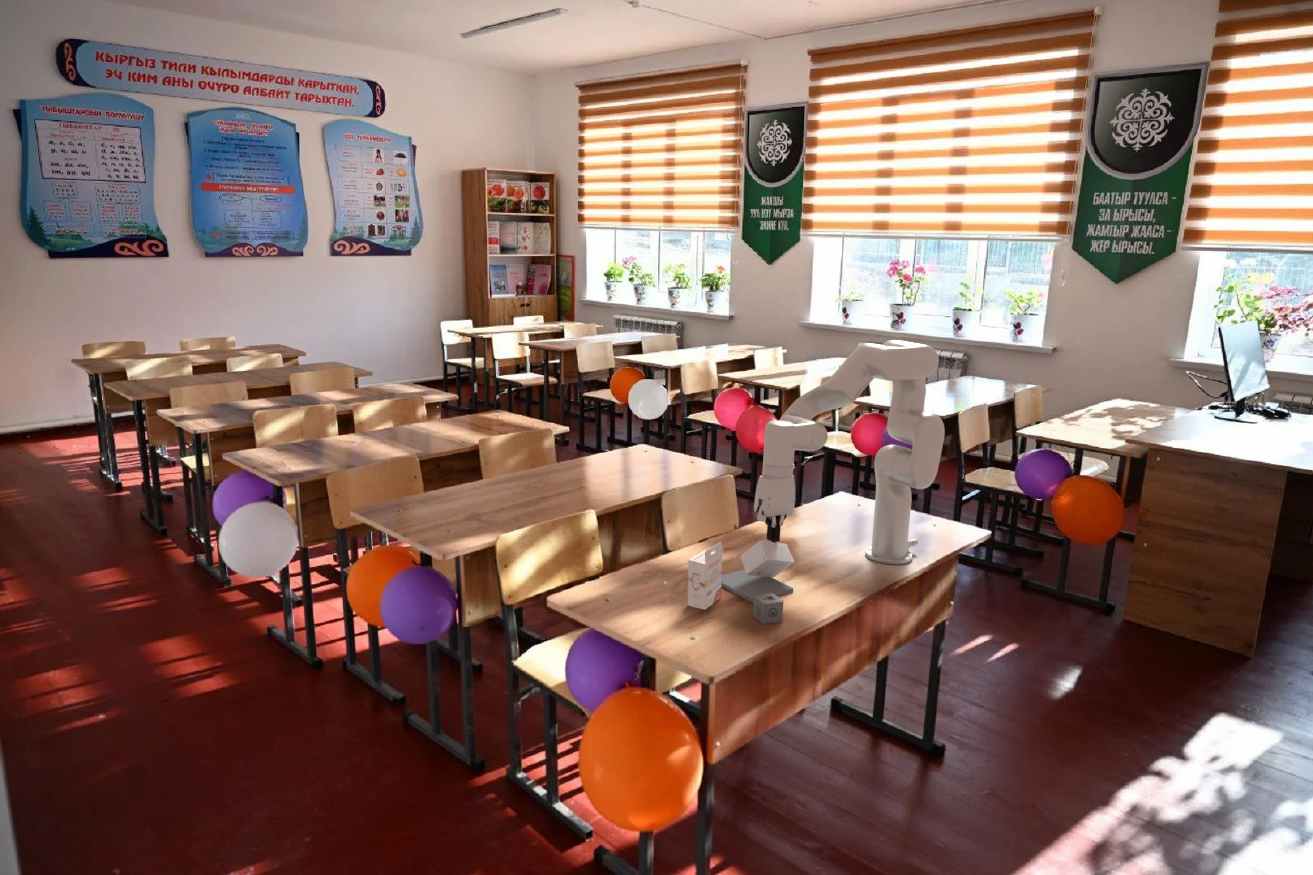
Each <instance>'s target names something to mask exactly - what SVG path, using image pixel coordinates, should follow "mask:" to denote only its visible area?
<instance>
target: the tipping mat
mask: <svg viewBox="0 0 1313 875" xmlns="http://www.w3.org/2000/svg"><path fill="white" fill-rule="evenodd" d="M722 587H723V589H724V588H725V589H726V590H727V591H730V592H731V593H733V594H735V595H737V596H739V597H741V598H743V599H744V600H746V601H748V602H750V603H751V604H754V596H755V595H762V594H769V593H774V594H775V595H776V596H777V597H781V596H783V595H784V596H785V595H788V594H791V593H794V588H793V587H792V586H790V585H788V584H786V583H783V582H782V581H780V580H777V579H776V578H775V577H763V576H752V575H747V574H746V571H745V569H744V568H743V569H741V570H737V571H734V572H733V571H732V572H730V573H726V574H722V583H721V588H722Z"/></svg>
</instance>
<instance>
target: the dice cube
mask: <svg viewBox="0 0 1313 875" xmlns="http://www.w3.org/2000/svg"><path fill="white" fill-rule="evenodd" d="M752 604H753V607H752V609H753V610H752V612H753V613H752V616H753V617H754V618H755V619H756V620H757V621H759V622H760V623H761V625H767V624H775V623H780V622H783V615H784V614H783V613H784V601H783V599H781V598H780V596H778V597H777V596H776V595H775V594H774V593H769V594H762V595H755V596H754V603H752Z"/></svg>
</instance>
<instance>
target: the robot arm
mask: <svg viewBox="0 0 1313 875" xmlns="http://www.w3.org/2000/svg"><path fill="white" fill-rule="evenodd" d="M939 362H940V360H939V354H938V352H937V351H936V349H934V348H933V347H932V345H931V346H930V345H928V344H922V343H916V342H911V341H906V340H897V339H891V340H887V341H884V343H882V344H877V343H873V342H872V343H871V342H870V343H868V342H866V343H861V344H859V345H858V346H857V347H855V349H854V350H853V351H852V352H851V353H850V354H849V356H847V358H846V359H845V360H844V361H843V363H842V364H841V365H840V366H839V367H838V368H837V370H836V371H835V372H834V373H833V374H832V375H831V376H830V378H829V379H828V380H827V381H825V382H824V383H822V384H820V385H818V386H816V387H814V388H813V389H811V390H809V391H807V392H806V393H803V394H802V395H801V396H799V397H798V398H797V399H795V401H793V402H792V403H791V405H790V406H789V407H788V408H787V409H786V411H784V413H783V414H782V415H781V417H780V419H779V420H778V419H777V420H770V421H768V422H767V423H766V424H765V428H764V440H763V441H764V443H763V444H764V445H763V460H762V473H761V474H762V475H759V477H758V479H757V480H758V481H757V484H756V490H755V496H754V504H753V511H754V513H756V514H757V516H756V520H757V521H759V522H761V523H763V522H764V524H765V525H766V529H767V530H766V540H767V541H768V542H775V543H780V541H781V528H782V526H783V525H784V523H785V522H784V521H785V520H786V518H789V517H791V516H792V515H793V511H794V510H795V505H796V484H795V482H796V480H795V475H794V470H795V468H796V465H795V464H794V463H795V462H794V461H795V451H804V452H815V451H818V450H820V449H822V448H823V447H824V446H825V445H826V443H827V442H828V437H829V436H828V434H829V433H828V430H827V429H826V427H825V425H823V424H822V423H820V422H818V421H816V420H815V421H814V420H812V419H813V418H815V417H817V415H819V414H821V413H824V412H827V411H829V410H834V409H839V408H840V409H841V408H844V407H847V406H850V405H852V404H853V403H855V402H856V400H857V399H858V398H859V396H861V394H862V393H863V391H864V390H866V388H867V387H868V386H869V385H870V384H871V382H872V381H873V380H874V379H879V380H883V381H891V382H892V395H891V400H890V407H889V411H888V412H889V413H888V418H887V423H886V431H887V434H888V435H889V436H890V438H892V439H894V440H896V441H899V442H902V443H904V444H907V445H911V446H912V448H908V447H905V446H902V445H899V444H898V445H897V444H888V445H884V446H882V447H881V448H879V450H878V451H877V452H876V454H875V457H874V463H873V464H874V474H875V475H874V476H875V486H876V487H875V500H874V509H873V510H874V514H873V522H872V523H873V524H872V535H871V537H872V538H871V546H868V547H867V548H866V549H865V556H866V558H868V559H869V560H871V561H874V562H877V563H880V564H886V565H905V564H908V563H910V562H911V561H912V560H913V554H912V552H911V551H910V548H911V547H912V548H913V547H916V546H918V544H919V542H918V540H917V539H916V538H912V539H909V531H910V530H909V529H910V523H911V522H910V520H911V509H912V501H913V500H912V490H911V488H912V489H913V488H914V489H916V490H924V489H927V488H929V487H931V485H932V484H933V483H934V481H935V479H936V477H937V474H938V470H939V466H940V462H941V456H942V452H943V451H942V450H943V445H944V440H945V425H944V422H943V419H941V417H940V416H939V415H937V414H935V413H934V412H931V411H926V410H925V402H926V401H925V400H926V394H927V387H926V386H927V385H926V382H925V381H926V380H925V379H926V378H929V377H930V376H931V375H933V374H934V373H935V371H936V370H937V369H938V366H939Z"/></svg>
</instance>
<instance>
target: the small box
mask: <svg viewBox="0 0 1313 875" xmlns="http://www.w3.org/2000/svg"><path fill="white" fill-rule="evenodd" d="M739 558H740V561H741V562H742V566H743V570H744V569H745V571H746V574H747V575H752V576H763V577H772V578H775V577H777V576H778V575H780V574H781V573H782V572H783V571H785V570H786V569H788V568H789V567H790V566H791V565H793V564H795V559H794V557H793V555H792V554H791V551H790V548H789V546H788V544H787V543H784V542H783V543H781V542H772V541H769V540H767V541H766V540H758V541H757V542H756V543H754V545H752V546H751V547H750V548H748V549H747V550H745V551H744V552H743V553H742V554H741V555H740V556H739Z"/></svg>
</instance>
